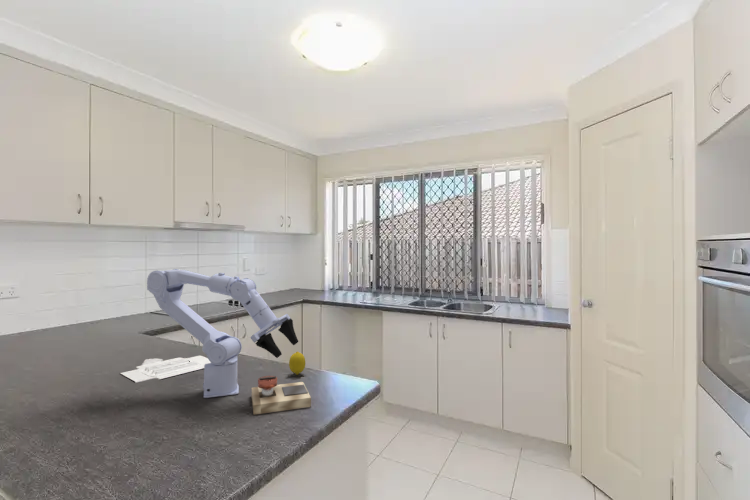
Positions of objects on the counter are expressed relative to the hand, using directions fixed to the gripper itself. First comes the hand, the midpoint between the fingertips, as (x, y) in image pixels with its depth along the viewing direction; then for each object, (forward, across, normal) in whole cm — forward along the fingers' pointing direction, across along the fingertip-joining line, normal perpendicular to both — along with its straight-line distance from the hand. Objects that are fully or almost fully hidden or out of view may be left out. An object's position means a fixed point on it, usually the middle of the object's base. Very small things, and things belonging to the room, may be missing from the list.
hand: (288, 349), depth 109 cm
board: (+10, -8, +6) cm, 14 cm away
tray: (-21, -4, +51) cm, 56 cm away
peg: (+8, -10, +8) cm, 15 cm away
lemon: (+8, +12, +18) cm, 23 cm away
